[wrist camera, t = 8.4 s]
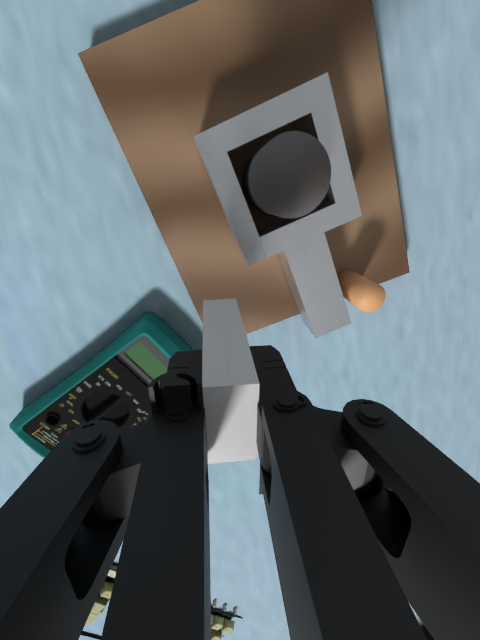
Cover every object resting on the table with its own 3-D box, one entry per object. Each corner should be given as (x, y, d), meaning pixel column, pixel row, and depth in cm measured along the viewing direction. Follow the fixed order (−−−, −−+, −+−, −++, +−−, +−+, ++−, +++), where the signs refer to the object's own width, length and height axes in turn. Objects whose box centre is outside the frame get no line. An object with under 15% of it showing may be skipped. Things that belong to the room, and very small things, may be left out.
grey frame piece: (196, 145, 17) (193, 136, 14) (308, 92, 17) (327, 72, 14) (273, 331, 22) (283, 351, 19) (361, 294, 22) (384, 309, 19)
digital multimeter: (18, 410, 25) (-5, 436, 22) (153, 305, 23) (146, 320, 20) (87, 458, 28) (74, 487, 25) (215, 369, 25) (215, 390, 23)
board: (88, 65, 17) (21, -8, 11) (348, -49, 16) (432, -196, 10) (212, 337, 24) (214, 385, 18) (397, 267, 23) (464, 293, 17)
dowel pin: (331, 275, 21) (353, 290, 18) (355, 265, 21) (382, 278, 18) (337, 298, 22) (359, 316, 19) (360, 289, 22) (387, 305, 18)
